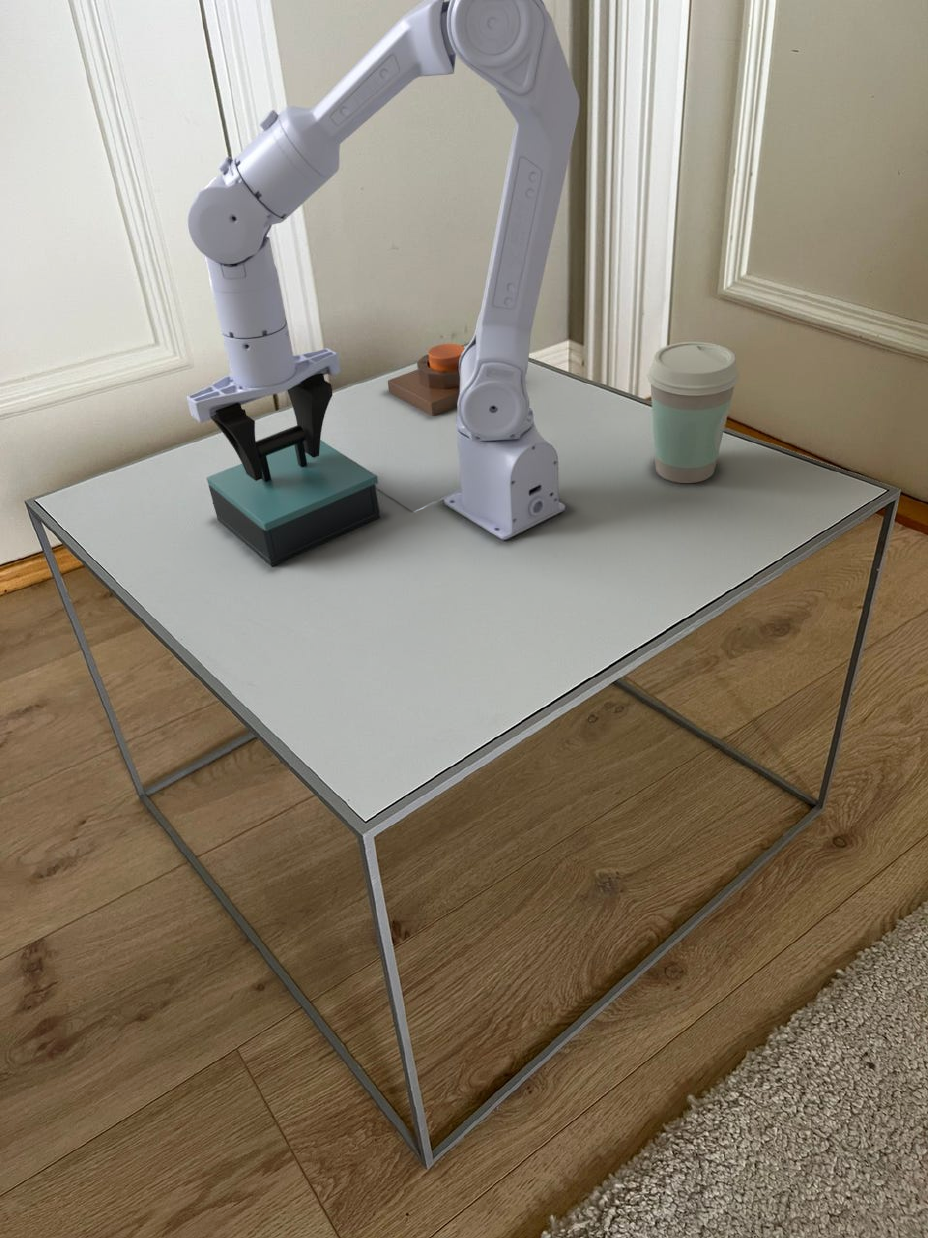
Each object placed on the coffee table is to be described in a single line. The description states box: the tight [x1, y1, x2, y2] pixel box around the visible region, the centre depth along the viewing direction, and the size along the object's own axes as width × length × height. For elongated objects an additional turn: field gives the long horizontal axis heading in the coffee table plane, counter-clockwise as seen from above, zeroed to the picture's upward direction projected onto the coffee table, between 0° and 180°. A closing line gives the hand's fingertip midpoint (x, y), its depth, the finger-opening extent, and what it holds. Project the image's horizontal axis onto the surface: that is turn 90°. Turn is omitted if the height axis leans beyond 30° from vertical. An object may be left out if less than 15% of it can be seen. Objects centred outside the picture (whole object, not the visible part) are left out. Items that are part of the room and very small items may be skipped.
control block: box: [387, 353, 460, 417], centre depth 114 cm, size 12×9×4 cm
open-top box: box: [208, 484, 381, 567], centre depth 93 cm, size 11×12×4 cm
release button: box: [428, 343, 466, 371], centre depth 113 cm, size 4×4×2 cm
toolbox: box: [206, 424, 379, 531], centre depth 90 cm, size 12×12×5 cm
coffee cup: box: [646, 341, 740, 484], centre depth 93 cm, size 9×8×12 cm
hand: (283, 464), depth 91 cm, fingers open, 6 cm apart
